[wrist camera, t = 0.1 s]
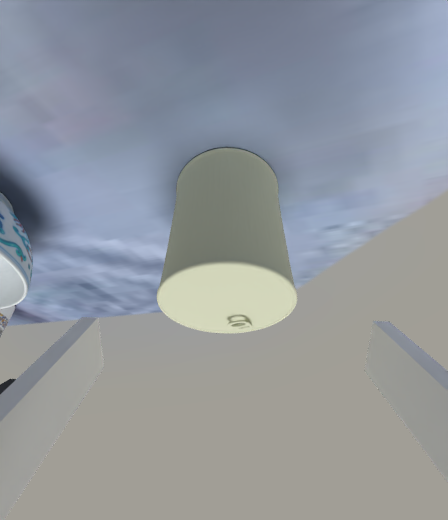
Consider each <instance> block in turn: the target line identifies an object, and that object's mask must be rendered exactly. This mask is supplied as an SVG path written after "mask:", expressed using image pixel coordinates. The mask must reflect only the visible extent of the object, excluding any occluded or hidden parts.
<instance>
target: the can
mask: <svg viewBox="0 0 448 520" xmlns="http://www.w3.org/2000/svg"><path fill="white" fill-rule="evenodd" d="M176 194H177V197H176V204H175V209H174V215H173V220H172V226H171V231H170V237H169V242H168V248H167V253H166V258H165V263H164V268H163V273H162V278H161V282H160V286H159V288H158V292H157V302H158V305H159V307H160V308H161V310H162V311H163V312H164V314H166V315H167V316H168V317H169V318H171V319H172V320H174V321H175V322H177V323H179V324H181V325H184V326H186V327H189V328H192V329H196V330H201V331H206V332H213V333H241V332H249V331H255V330H259V329H263V328H266V327H269V326H271V325H273V324H276V323H278V322H279V321H281V320H283V319H284V318H286V317H287V316H288V315H289V314H290V313H291V312H292V311H293V309H294V307H295V305H296V303H297V292H296V289H295V286H294V282H293V277H292V272H291V267H290V262H289V257H288V251H287V246H286V240H285V235H284V230H283V224H282V218H281V212H280V206H279V200H278V183H277V179H276V176H275V174H274V172H273V170H272V169H271V168H270V166H269V165H268V164H267V163H266V162H265V161H264V160H263V159H261V158H260V157H258V156H257V155H255V154H253V153H251V152H248V151H245V150H241V149H236V148H218V149H213V150H210V151H207V152H204V153H202V154H200V155H198V156H197V157H195V158H193V159H192V160H191V161H190V162H189V163H188V164H187V165H186V166H185V167H184V169H183V170H182V172H181V173H180V175H179V178H178V181H177V187H176Z"/></svg>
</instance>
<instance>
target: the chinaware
mask: <svg viewBox="0 0 448 520" xmlns="http://www.w3.org/2000/svg"><path fill="white" fill-rule="evenodd" d="M32 265H33V261H32V250H31V246H30V242H29V239H28V236H27V234H26V232H25V230H24V228H23V226H22V225H21V223H20V221H19V220H18V219H17V217H16V216H15V215H14V211H13V208H12V205H11V204H10V202H9V201H8V199H7V198H6V197H5V196H4V195H3V194H2V193H1V192H0V309H3V308H8V307H11V306H14V305H16V304H18V303H20V302H21V301H22V300H23V299H24V298H25V296H26V295H27V292H28V289H29V285H30V281H31V276H32Z"/></svg>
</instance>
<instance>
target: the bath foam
mask: <svg viewBox="0 0 448 520" xmlns="http://www.w3.org/2000/svg"><path fill="white" fill-rule="evenodd" d="M14 310H15V305H14V306H11V307H8V308H3V309H0V337H1V335H2V333H3V331H4V329H5V327H6V325H7V324H8V321H9V320H10V318H11V316H12V314H13V312H14Z"/></svg>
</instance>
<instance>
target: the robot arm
mask: <svg viewBox="0 0 448 520" xmlns="http://www.w3.org/2000/svg"><path fill="white" fill-rule="evenodd" d="M103 368H104V361H103V353H102V344H101V337H100V329H99V320H98V318H95V317H82V318H81V319H80V320H79V321H78V322H77V323H76V324H75V325H73V326H72V327H71V328H70V329H69V330H68V331H67V332H66V333H65V334H64V335H63V336H62V337H61V338H60V339H59V340H58V341H57V342H55V344H53V345H52V346H51V347H50V348H49V349H48V350H47V351H46V352H45V353H44V354H43V355H42V356H41V357H40V358H39V359H37V360H36V361H35V363H33V364H32V365H31V366H30V367H29V368H28V369H27V370H26V371H25V372H24V373H23V374H22V375H21V376H20V377H18V378H17V379H9V380H8V381H6V382H4V383H2V384H1V385H0V520H5V518H6V517H7V515H8V514H9V512H10V511H11V509H12V507H13V506H14V504H15V503H16V501H17V500H18V498H19V497H20V495H21V494H22V492H23V491H24V489H25V488H26V486H27V485H28V483H29V481H30V480H31V478H32V477H33V475H34V474H35V472H36V471H37V469H38V468H39V466H40V465H41V463H42V462H43V460H44V458H45V457H46V455H47V454H48V452H49V451H50V449H51V448H52V446H53V445H54V443H55V442H56V440H57V438H58V437H59V436H60V434H61V432H62V431H63V429H64V428H65V426H66V425H67V423H68V422H69V420H70V419H71V417H72V416H73V414H74V413H75V411H76V410H77V408H78V406H79V405H80V403H81V402H82V400H83V399H84V397H85V396H86V394H87V393H88V391H89V390H90V388H91V386H92V385H93V384H94V382H95V380H96V379H97V377H98V376H99V374H100V373H101V371H102V370H103ZM365 372H366V373H367V375H368V376H369V377H370V379H371V380H372V382H373V383H374V384H375V386H376V387H377V388H378V390H379V391H380V392H381V394H382V395H383V396H384V398H385V399H386V400H387V402H388V403H389V404H390V406H391V407H392V408H393V410H394V411H395V412H396V414H397V415H398V417H399V418H400V419H401V421H402V422H403V423H404V425H405V426H406V427H407V429H408V430H409V431H410V432H411V434H412V435H413V437H414V438H415V439H416V441H417V442H418V443H419V445H420V446H421V447H422V449H423V450H424V452H425V453H426V454H427V456H428V457H429V458H430V459H431V461H432V462H433V463H434V465H435V466H436V468H437V469H438V470H439V472H440V473H441V474H442V476H443V477H444V478H445V480H446V481H447V482H448V371H447V370H446V369H445V368H443V367H442V366H441V365H440V364H439V363H438V362H436V361H435V360H434V359H433V358H432V357H431V356H429V355H428V354H427V353H426V352H424V351H423V350H422V349H421V348H420V347H419V346H417V345H416V344H415V343H414V342H413V341H412V340H410V339H409V338H408V337H407V336H406V335H405V334H403V333H402V332H401V331H400V330H399V329H397V328H396V327H395V326H394V325H393V324H391V323H390V322H382V321H379V322H378V321H374V322H373V325H372V331H371V336H370V342H369V347H368V353H367V359H366V364H365Z"/></svg>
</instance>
